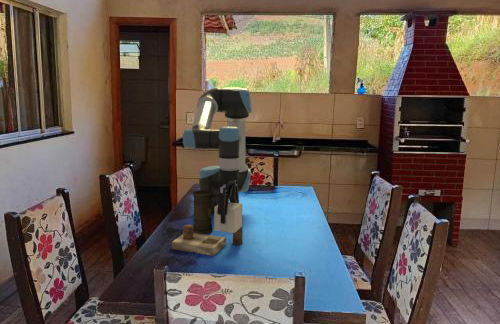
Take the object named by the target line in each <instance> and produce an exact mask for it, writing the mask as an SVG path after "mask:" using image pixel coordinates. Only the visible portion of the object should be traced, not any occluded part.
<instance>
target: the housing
mask: <svg viewBox="0 0 500 324" xmlns="http://www.w3.org/2000/svg"><path fill="white" fill-rule="evenodd" d="M217 211H218V205H217V206H215V207H214V214H213V215H214V216H213V217H214V218H213V219H214V221H213V222H214V224H213V225H214V229H213V230H214V231H218V232H221V231H220V215H219V214H217ZM227 215H228V232H227V233H230V234H231V233H232V234H233V233H235V232H236V231H237V230H238V229H240V228H241V227H242V215H243V203H240V202H239V203H231V202H230V201H229V203H228V209H227Z"/></svg>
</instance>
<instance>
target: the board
mask: <svg viewBox="0 0 500 324" xmlns="http://www.w3.org/2000/svg"><path fill="white" fill-rule="evenodd" d="M193 225H194V224H185V225H183V226H182V233H183V234H181V235H180V236H178V237H177V238H175V239H174V240H173V241H171V249H172V250H177V251H183V252H188V253H193V252H195V253H194V254H199V253H200V254H201V255H205V254H206V255H207V256H215V255H216V254H217V253H219V252H220V250H222V249H223V248H224V247H225V246H226V245H227V238H226V237H223V236H218V235H217V236H216V235H211V234H210V235H209V234H198V233H194V232H193ZM206 255H205V256H206Z"/></svg>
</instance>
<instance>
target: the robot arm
mask: <svg viewBox="0 0 500 324" xmlns="http://www.w3.org/2000/svg"><path fill="white" fill-rule="evenodd" d="M251 99H252V98H251V93H250V90H249V89H248V88H243V87H213V88H211V89H209V90H207V91H205V92H203V94H202V95H200V96H199V98H198V101H197V102H196V109H197V111H196V114H195V116H194V120H193V123H192V127H191V128H188V129H185V130H184V131H183V133H182V144H183V147H184V148H186V149H192V150H195V149H198V150H202V149H204V150H205V149H209V150H218V159H217V162H218V165H210V166H206V167H202V168H201V169H200V170H199V171H198V173H199V175H198V183H199V184H198V187H199V188H198V190H209V191H211V192H212V195H211V215H214V207H215V206H217V205H218V211H217V214H219V215H220V231H219V232H224V233H229V232H228V215H227V209H228V203H229V202H231V203H240V197H239V195H240V194H239V193H242V192H245V193H246V192H248V190H249V188H250V182H251V175H252V170H251V169H250V168H249V166H248V164H246V124H247V123H246V119H248V118H249V115H250V114H251V113H252V112H253V111H252V100H251ZM216 113H224V117H225V118H226V120H227V126H220V127H219V128H218V129H212V126H213V125H212V124H213V120H214V116H215V114H216Z"/></svg>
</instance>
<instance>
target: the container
mask: <svg viewBox="0 0 500 324" xmlns="http://www.w3.org/2000/svg"><path fill="white" fill-rule="evenodd" d="M211 195H212V192H211V191H209V190H199V189H198V190H195V191H193V192H192V196H193V224H192V225H193V233H198V234H204V235H208V234H210V233H212V232H213V230H214V229H213V223H212V220H213V219H212V214H211Z"/></svg>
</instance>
